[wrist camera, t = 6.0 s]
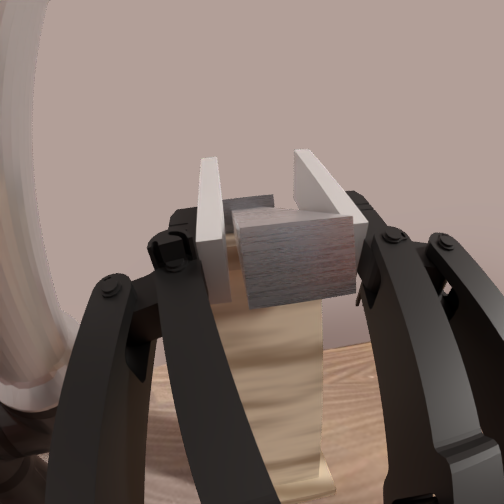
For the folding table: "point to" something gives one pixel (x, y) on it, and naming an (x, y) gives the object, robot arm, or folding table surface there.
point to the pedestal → (278, 384)
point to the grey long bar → (290, 252)
